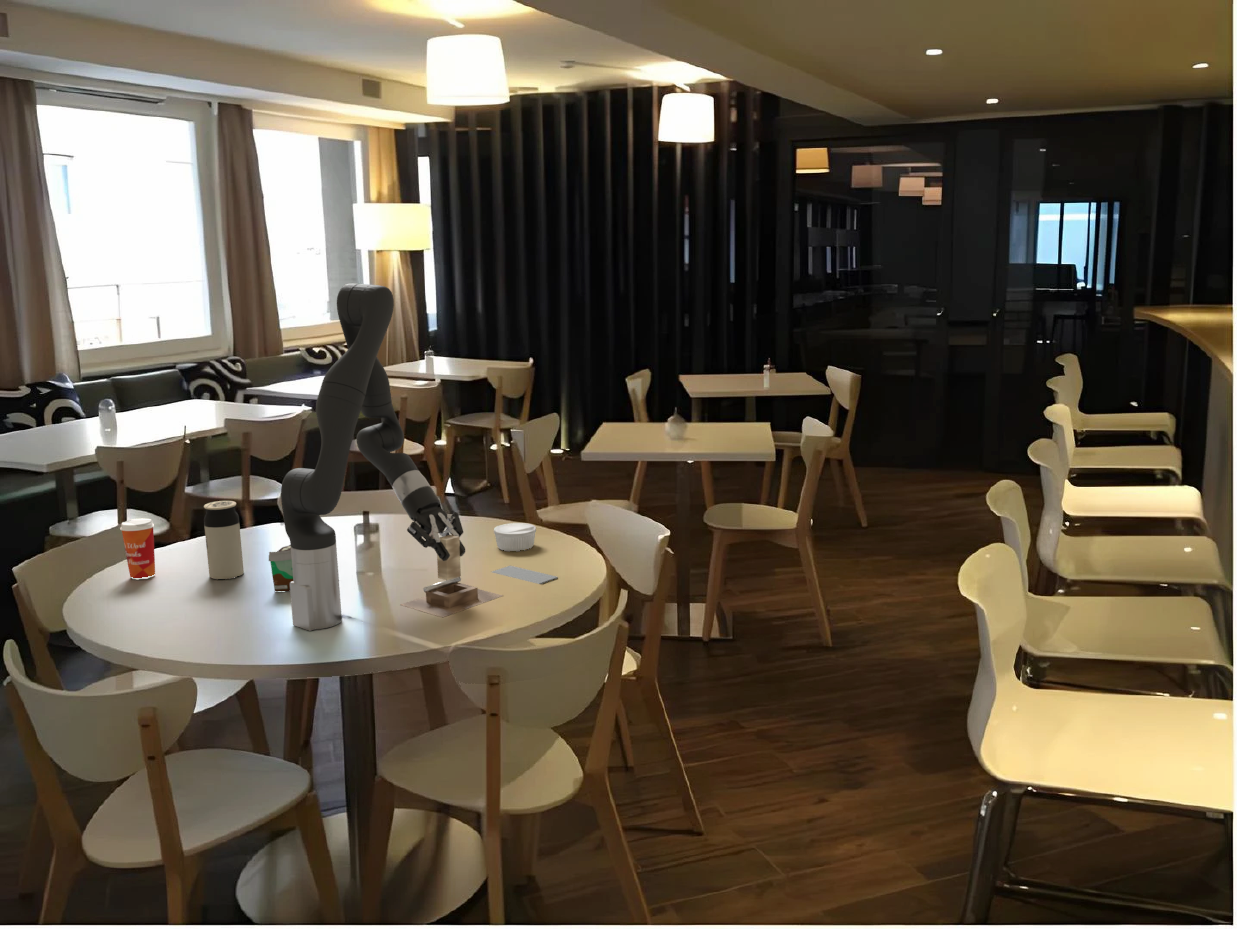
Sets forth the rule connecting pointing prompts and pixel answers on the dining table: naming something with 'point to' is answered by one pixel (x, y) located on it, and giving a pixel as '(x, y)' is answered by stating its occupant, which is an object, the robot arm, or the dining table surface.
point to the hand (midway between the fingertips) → (454, 556)
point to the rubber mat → (525, 574)
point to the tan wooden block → (450, 558)
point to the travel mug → (223, 540)
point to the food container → (281, 568)
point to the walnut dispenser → (450, 598)
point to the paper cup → (139, 547)
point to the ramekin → (515, 536)
